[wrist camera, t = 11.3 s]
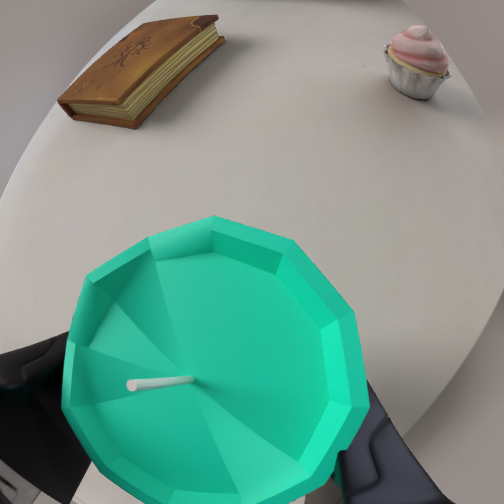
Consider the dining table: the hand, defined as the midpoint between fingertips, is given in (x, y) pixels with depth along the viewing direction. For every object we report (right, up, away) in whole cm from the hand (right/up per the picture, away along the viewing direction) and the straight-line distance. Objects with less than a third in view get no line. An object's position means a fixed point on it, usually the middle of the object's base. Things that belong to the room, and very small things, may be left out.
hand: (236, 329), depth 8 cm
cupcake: (+22, +24, +20) cm, 38 cm away
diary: (-17, +31, +30) cm, 47 cm away
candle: (+1, -4, +6) cm, 7 cm away
